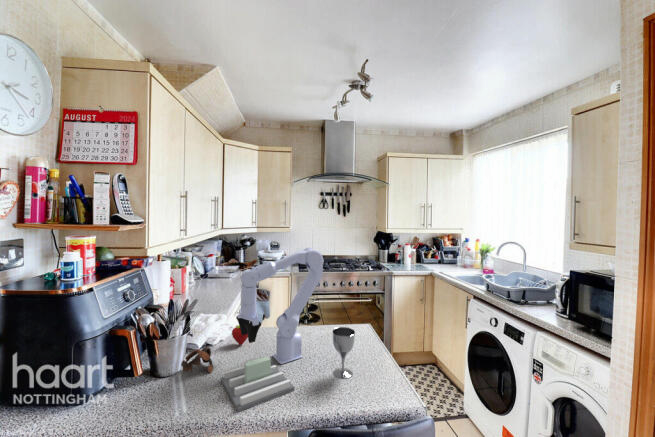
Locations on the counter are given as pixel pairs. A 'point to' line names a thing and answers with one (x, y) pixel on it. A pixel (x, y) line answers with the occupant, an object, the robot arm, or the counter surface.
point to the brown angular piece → (198, 359)
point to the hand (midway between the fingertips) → (248, 338)
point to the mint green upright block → (257, 369)
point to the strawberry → (239, 335)
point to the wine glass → (343, 349)
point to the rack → (254, 387)
